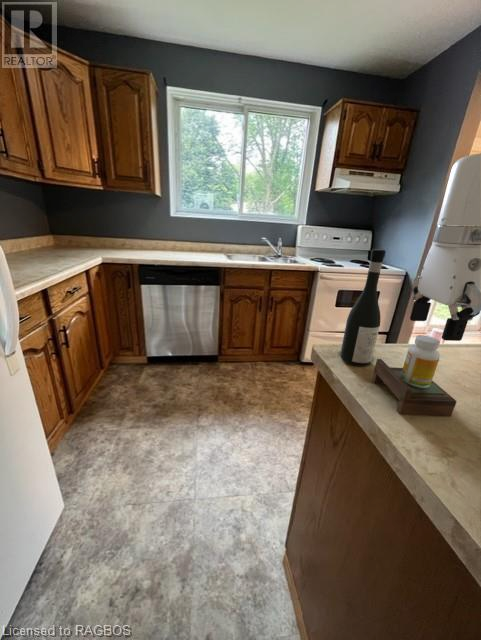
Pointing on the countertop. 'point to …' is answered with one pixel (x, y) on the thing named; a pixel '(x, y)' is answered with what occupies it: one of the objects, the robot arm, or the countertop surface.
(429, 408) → the wooden jewelry box
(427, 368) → the supplement bottle
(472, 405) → the countertop surface
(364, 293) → the wine bottle
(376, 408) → the countertop surface
